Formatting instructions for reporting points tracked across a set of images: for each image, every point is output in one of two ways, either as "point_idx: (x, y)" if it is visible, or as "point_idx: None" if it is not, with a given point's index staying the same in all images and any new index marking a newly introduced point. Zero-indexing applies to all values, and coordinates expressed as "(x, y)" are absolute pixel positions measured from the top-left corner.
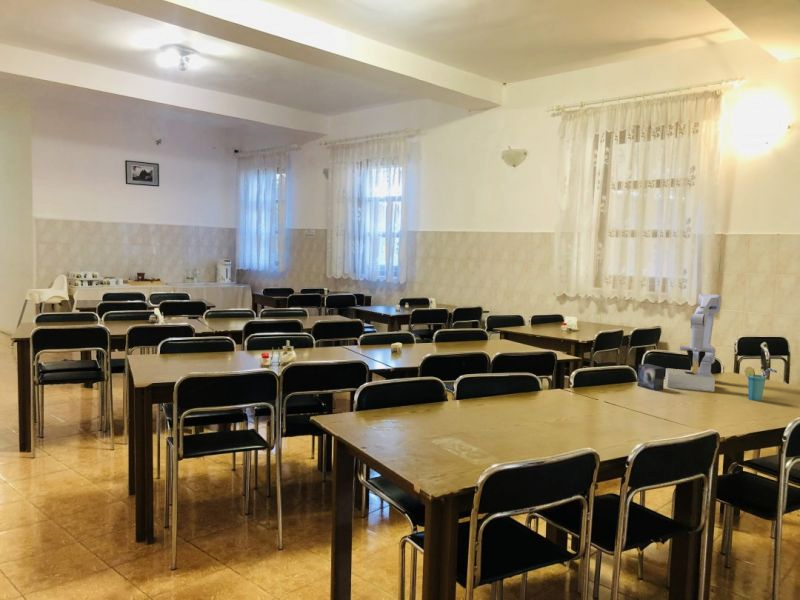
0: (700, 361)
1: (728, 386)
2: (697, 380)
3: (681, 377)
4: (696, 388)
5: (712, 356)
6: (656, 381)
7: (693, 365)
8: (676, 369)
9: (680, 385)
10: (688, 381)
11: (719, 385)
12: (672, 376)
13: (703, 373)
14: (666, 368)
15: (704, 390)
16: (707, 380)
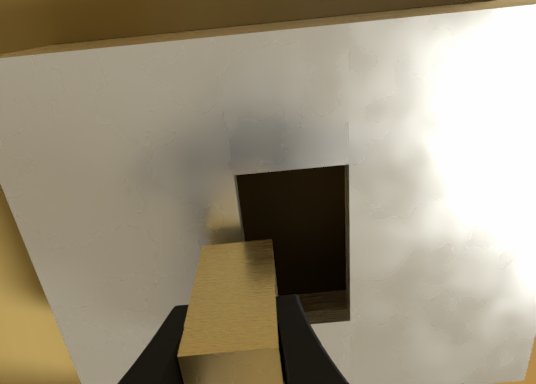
0: (137, 373)
1: (5, 352)
2: (200, 34)
3: (410, 14)
4: (215, 29)
5: None
6: None
7: (262, 303)
8: (423, 370)
9: (381, 13)
10: (308, 22)
11: (67, 351)
12: (533, 3)
13: (146, 312)
14: (523, 367)
15: (139, 36)
16: (73, 48)
